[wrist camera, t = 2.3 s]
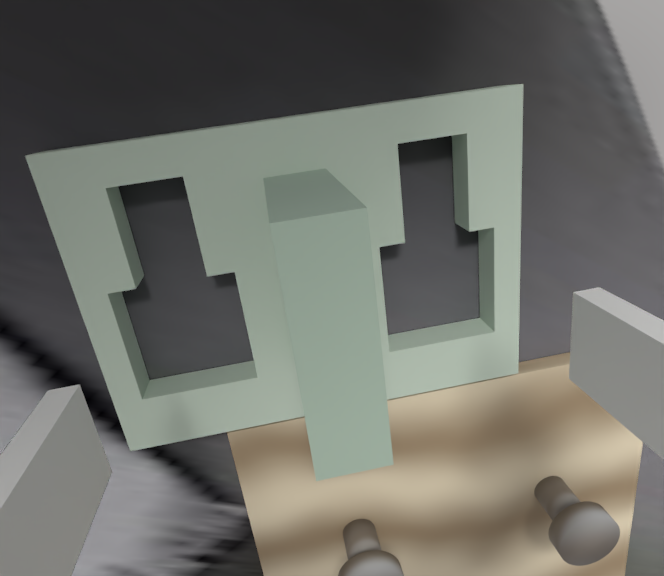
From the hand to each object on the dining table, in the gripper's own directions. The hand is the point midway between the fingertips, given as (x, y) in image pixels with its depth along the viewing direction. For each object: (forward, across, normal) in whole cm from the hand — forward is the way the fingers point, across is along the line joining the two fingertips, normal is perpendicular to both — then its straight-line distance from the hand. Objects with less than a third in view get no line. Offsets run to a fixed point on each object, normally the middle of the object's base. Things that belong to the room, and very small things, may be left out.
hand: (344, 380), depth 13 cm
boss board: (+10, +6, -16) cm, 20 cm away
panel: (+10, 0, 0) cm, 10 cm away
